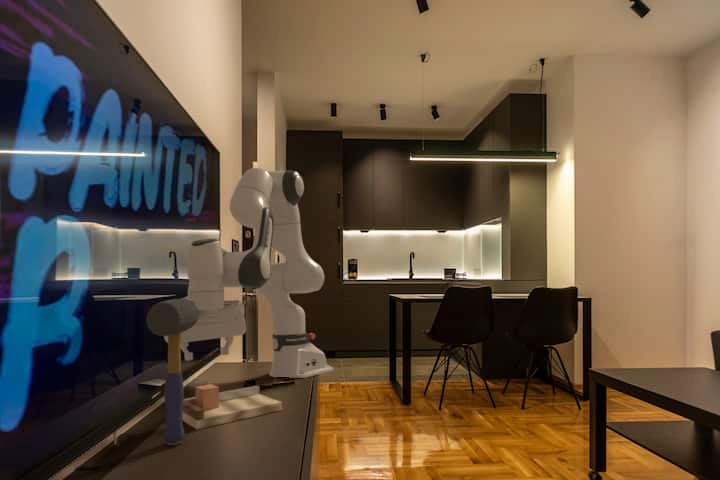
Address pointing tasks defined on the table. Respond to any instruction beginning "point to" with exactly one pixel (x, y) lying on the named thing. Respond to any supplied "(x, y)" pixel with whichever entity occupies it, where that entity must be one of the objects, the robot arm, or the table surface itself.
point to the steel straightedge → (231, 394)
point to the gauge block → (207, 397)
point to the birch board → (229, 411)
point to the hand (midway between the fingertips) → (207, 357)
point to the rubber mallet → (173, 357)
